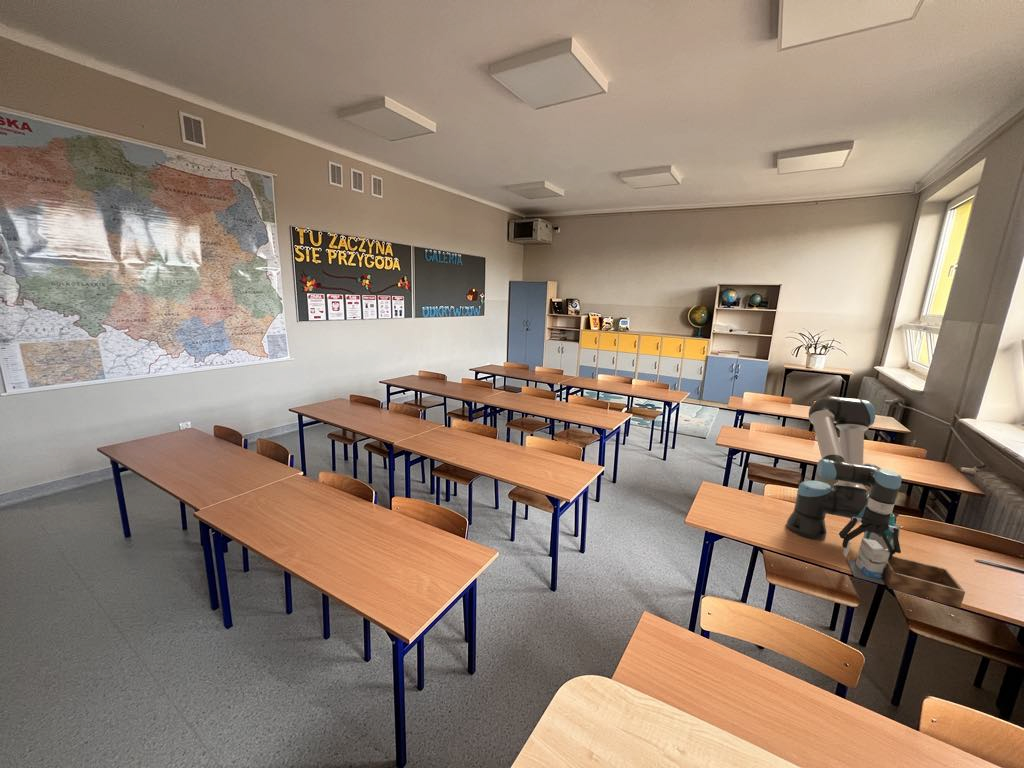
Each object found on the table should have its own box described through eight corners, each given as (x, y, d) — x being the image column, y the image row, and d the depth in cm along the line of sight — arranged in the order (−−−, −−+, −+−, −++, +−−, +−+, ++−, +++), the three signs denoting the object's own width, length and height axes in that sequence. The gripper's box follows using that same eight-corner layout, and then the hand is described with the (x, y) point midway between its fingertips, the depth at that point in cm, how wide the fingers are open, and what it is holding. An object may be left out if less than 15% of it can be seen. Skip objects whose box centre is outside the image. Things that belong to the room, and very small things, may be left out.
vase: (898, 565, 170) (909, 522, 166) (866, 558, 173) (876, 516, 169) (885, 550, 180) (896, 510, 176) (855, 545, 183) (865, 504, 179)
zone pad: (854, 576, 161) (854, 575, 161) (846, 560, 171) (846, 558, 171) (883, 584, 157) (884, 583, 157) (874, 567, 167) (874, 566, 167)
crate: (888, 588, 155) (892, 572, 154) (876, 567, 168) (880, 552, 166) (960, 608, 146) (965, 591, 145) (941, 583, 159) (946, 568, 158)
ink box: (881, 579, 159) (888, 552, 157) (866, 576, 160) (873, 549, 158) (869, 566, 167) (876, 539, 165) (855, 563, 168) (861, 537, 166)
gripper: (842, 505, 161) (828, 554, 166) (923, 524, 150) (906, 576, 155) (838, 497, 167) (825, 545, 172) (915, 515, 157) (899, 565, 162)
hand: (863, 560), depth 164 cm, fingers open, 11 cm apart
